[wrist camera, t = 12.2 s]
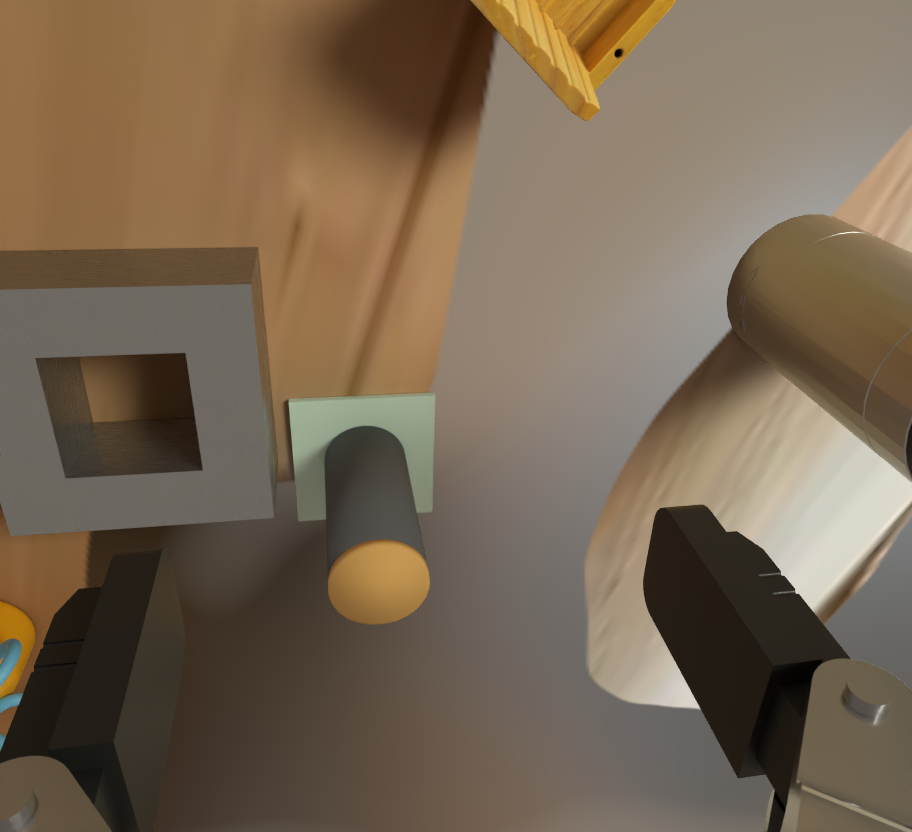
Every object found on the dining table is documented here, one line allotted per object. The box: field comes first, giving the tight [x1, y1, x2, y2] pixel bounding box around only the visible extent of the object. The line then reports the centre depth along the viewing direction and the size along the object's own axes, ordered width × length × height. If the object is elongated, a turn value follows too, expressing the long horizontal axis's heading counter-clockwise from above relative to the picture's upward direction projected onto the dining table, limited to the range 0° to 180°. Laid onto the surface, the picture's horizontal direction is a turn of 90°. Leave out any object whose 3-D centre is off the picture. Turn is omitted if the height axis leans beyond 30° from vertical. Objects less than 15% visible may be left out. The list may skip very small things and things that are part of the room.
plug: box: [324, 426, 430, 625], centre depth 45 cm, size 5×5×12 cm
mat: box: [289, 392, 435, 521], centre depth 50 cm, size 9×9×1 cm
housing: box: [0, 247, 278, 536], centre depth 42 cm, size 14×14×6 cm
